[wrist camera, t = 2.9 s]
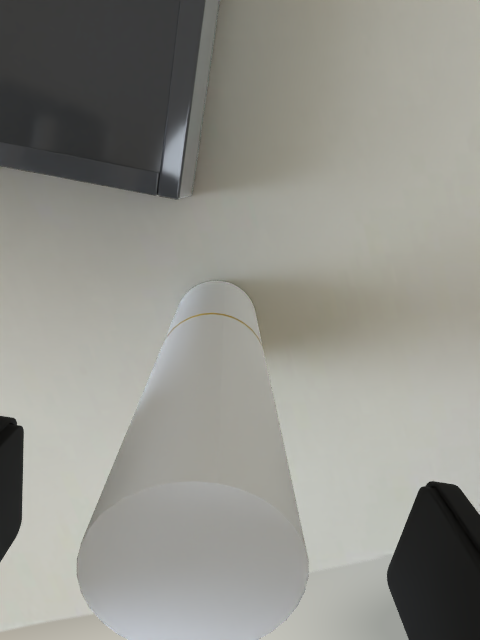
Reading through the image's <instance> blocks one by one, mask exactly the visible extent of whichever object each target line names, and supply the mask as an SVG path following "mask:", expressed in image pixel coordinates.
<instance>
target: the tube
mask: <svg viewBox="0 0 480 640" xmlns="http://www.w3.org/2000/svg"><path fill="white" fill-rule="evenodd" d="M77 578H78V582H79V586H80V590H81V593H82V595H83V597H84V599H85V600H86V602H87V604H88V606H89V608H90V609H91V610H92V611H93V612H94V614H95V615H96V616H97V617H98V618H99V619H100V620H101V622H103V623H104V624H105V625H106V626H108V627H109V628H110V629H112V630H113V631H114V632H115V633H117V634H118V635H120V636H122V637H124V638H126V639H128V640H258V639H260V638H261V637H264V636H265V635H267V634H269V633H271V632H272V631H273V630H274V629H276V628H277V627H278V626H279V625H280V624H282V623H283V622H284V621H285V620H287V618H288V617H289V616H290V614H291V613H292V612H293V611H294V610H295V608H296V607H297V606H298V604H299V602H300V600H301V598H302V596H303V594H304V592H305V588H306V584H307V580H308V555H307V551H306V546H305V541H304V537H303V532H302V527H301V523H300V518H299V513H298V509H297V504H296V499H295V494H294V490H293V485H292V480H291V476H290V471H289V466H288V462H287V457H286V452H285V448H284V443H283V438H282V433H281V429H280V424H279V419H278V415H277V410H276V405H275V401H274V396H273V391H272V387H271V382H270V377H269V373H268V368H267V364H266V359H265V355H264V350H263V345H262V341H261V336H260V331H259V326H258V322H257V317H256V312H255V309H254V305H253V303H252V301H251V299H250V298H249V297H248V295H247V294H246V293H245V292H244V291H243V290H241V289H240V288H239V287H237V286H235V285H233V284H231V283H228V282H225V281H208V282H204V283H201V284H199V285H197V286H195V287H193V288H192V289H191V290H189V291H188V292H187V293H186V294H185V296H184V297H183V298H182V300H181V302H180V304H179V306H178V308H177V311H176V313H175V316H174V318H173V321H172V323H171V325H170V328H169V330H168V333H167V335H166V338H165V340H164V343H163V345H162V347H161V350H160V352H159V355H158V357H157V360H156V362H155V364H154V367H153V369H152V372H151V374H150V377H149V379H148V381H147V384H146V386H145V389H144V391H143V394H142V396H141V399H140V401H139V403H138V406H137V408H136V411H135V413H134V416H133V418H132V420H131V423H130V425H129V428H128V430H127V433H126V435H125V437H124V440H123V442H122V445H121V447H120V450H119V452H118V455H117V457H116V459H115V462H114V464H113V467H112V469H111V472H110V474H109V476H108V479H107V481H106V484H105V486H104V489H103V491H102V494H101V496H100V498H99V501H98V503H97V506H96V508H95V511H94V513H93V515H92V518H91V520H90V523H89V525H88V528H87V530H86V532H85V535H84V537H83V540H82V542H81V546H80V549H79V553H78V557H77Z"/></svg>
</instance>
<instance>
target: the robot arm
mask: <svg viewBox="0 0 480 640" xmlns="http://www.w3.org/2000/svg"><path fill="white" fill-rule="evenodd" d="M23 438H24V431H23V427H22V426H18V425H17V422H16V419H14V418H10V417H4V416H0V562H1V560H2V558H3V557H4V555H5V554H6V552H7V551H8V549H9V547H10V546H11V544H12V543H13V541H14V539H15V538H16V536H17V534H18V531H19V529H20V526H21V520H22V484H23ZM387 581H388V586H389V589H390V592H391V594H392V597H393V599H394V602H395V605H396V607H397V610H398V612H399V615H400V618H401V620H402V623H403V625H404V628H405V631H406V633H407V636H408V638H409V640H480V515H479V514H478V512H477V511H476V510H475V508H474V507H473V505H472V504H471V503H470V501H469V500H468V499H467V497H466V496H465V495H464V493H463V492H462V491H461V489H460V488H459V487H458V486H456V485H454V484H447V483H440V482H434V481H432V482H429V483H428V484H427V485H426V487H425V486H424V487H421V488H420V490H419V491H418V494H417V497H416V499H415V502H414V504H413V507H412V509H411V512H410V514H409V517H408V519H407V522H406V524H405V527H404V530H403V532H402V535H401V537H400V540H399V542H398V545H397V547H396V550H395V552H394V555H393V557H392V560H391V563H390V565H389V568H388V571H387Z"/></svg>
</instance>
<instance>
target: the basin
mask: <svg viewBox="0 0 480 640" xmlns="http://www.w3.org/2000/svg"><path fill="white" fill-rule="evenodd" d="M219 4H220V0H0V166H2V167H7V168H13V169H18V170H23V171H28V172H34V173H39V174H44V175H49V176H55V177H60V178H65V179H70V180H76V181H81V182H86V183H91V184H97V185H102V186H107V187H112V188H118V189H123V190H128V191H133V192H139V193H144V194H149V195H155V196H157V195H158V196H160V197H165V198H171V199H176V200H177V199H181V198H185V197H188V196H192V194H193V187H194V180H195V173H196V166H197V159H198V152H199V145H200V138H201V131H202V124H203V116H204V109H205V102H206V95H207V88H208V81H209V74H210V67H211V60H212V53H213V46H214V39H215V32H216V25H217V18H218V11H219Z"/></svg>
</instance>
